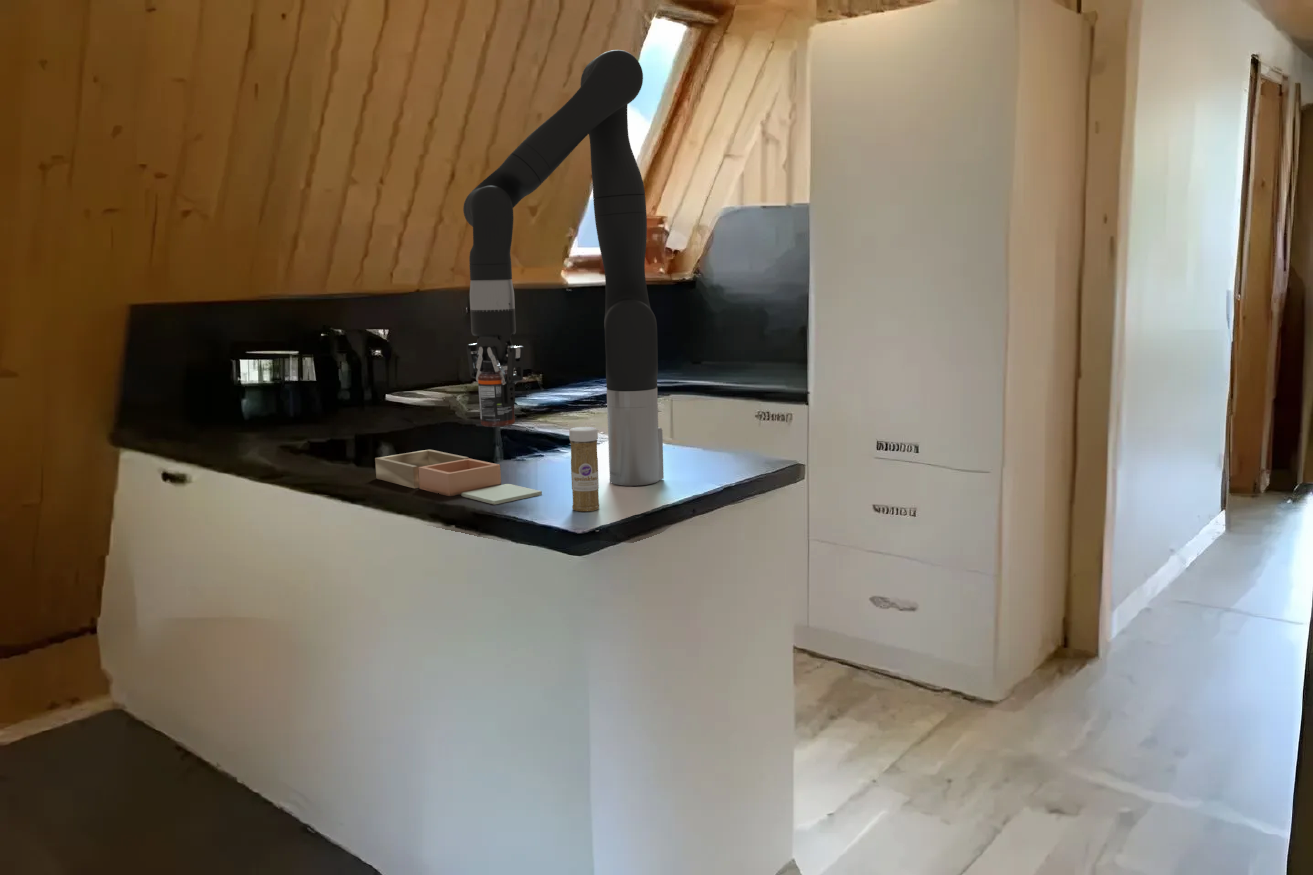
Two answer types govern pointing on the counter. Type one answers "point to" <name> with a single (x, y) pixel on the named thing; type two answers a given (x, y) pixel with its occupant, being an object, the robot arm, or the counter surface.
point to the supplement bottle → (493, 399)
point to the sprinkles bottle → (584, 468)
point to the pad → (501, 493)
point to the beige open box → (410, 466)
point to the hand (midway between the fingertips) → (497, 404)
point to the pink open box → (459, 476)
